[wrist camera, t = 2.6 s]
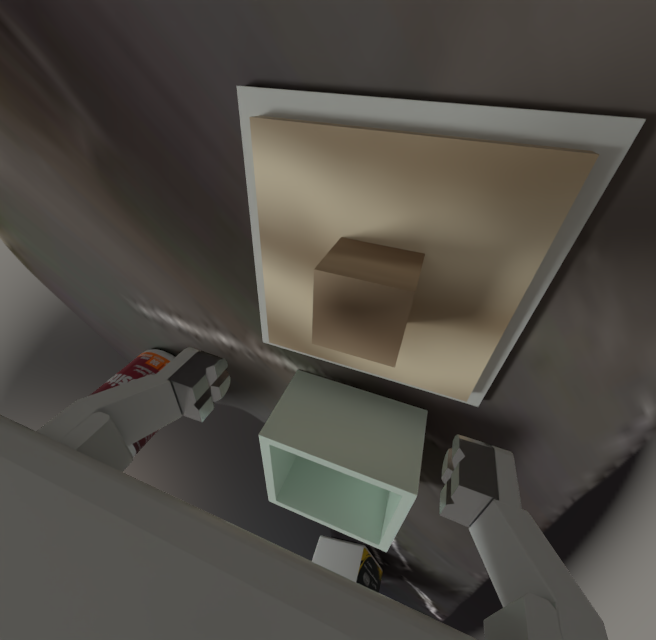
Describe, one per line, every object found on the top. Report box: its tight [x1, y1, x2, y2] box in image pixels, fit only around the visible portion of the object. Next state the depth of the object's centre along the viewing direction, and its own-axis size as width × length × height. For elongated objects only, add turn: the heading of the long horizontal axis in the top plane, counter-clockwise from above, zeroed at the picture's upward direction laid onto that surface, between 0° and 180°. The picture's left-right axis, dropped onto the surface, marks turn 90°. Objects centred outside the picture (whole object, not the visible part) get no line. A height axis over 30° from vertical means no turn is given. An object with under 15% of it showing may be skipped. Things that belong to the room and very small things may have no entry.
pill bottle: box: [91, 349, 175, 457], centre depth 27 cm, size 6×6×11 cm
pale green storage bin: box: [259, 370, 428, 552], centre depth 24 cm, size 10×10×6 cm
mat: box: [237, 86, 646, 407], centre depth 16 cm, size 15×15×1 cm
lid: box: [249, 116, 599, 402], centre depth 15 cm, size 13×13×4 cm
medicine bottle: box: [312, 535, 382, 593], centre depth 39 cm, size 7×7×12 cm
